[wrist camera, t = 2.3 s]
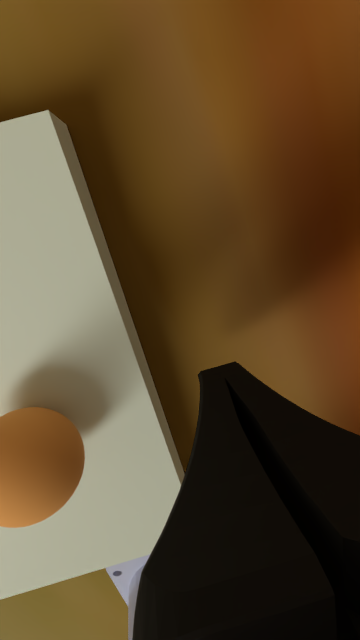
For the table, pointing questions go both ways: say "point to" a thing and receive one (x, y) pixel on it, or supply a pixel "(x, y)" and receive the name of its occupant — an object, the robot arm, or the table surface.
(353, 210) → the table surface
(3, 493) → the ball
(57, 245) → the deck
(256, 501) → the robot arm
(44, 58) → the table surface
